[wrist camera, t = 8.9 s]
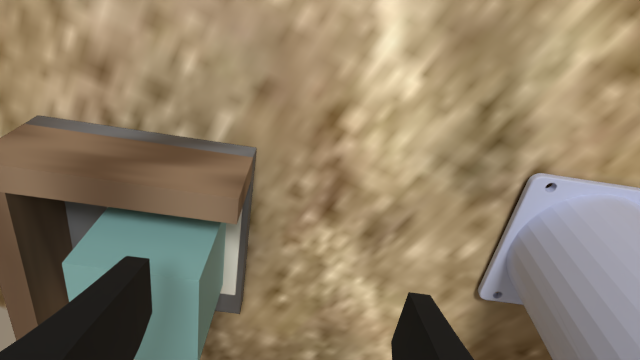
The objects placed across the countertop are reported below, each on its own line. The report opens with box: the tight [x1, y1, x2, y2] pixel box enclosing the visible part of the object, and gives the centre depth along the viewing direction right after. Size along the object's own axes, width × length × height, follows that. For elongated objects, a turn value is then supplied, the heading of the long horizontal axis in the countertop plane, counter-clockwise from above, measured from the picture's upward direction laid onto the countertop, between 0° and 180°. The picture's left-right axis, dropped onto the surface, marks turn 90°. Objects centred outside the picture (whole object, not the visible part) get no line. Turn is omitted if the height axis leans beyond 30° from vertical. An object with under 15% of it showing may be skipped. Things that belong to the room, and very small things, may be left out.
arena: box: [0, 116, 256, 341], centre depth 20 cm, size 10×10×4 cm
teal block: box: [62, 207, 226, 360], centre depth 19 cm, size 5×5×5 cm
